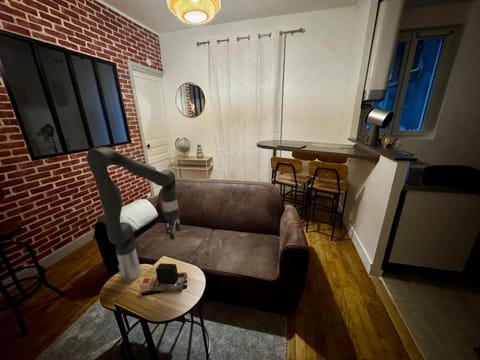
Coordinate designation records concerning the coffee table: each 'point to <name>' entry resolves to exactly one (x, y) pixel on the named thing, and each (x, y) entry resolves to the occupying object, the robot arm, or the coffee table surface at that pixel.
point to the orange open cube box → (146, 284)
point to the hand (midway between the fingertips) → (175, 234)
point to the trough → (180, 279)
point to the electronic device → (167, 273)
